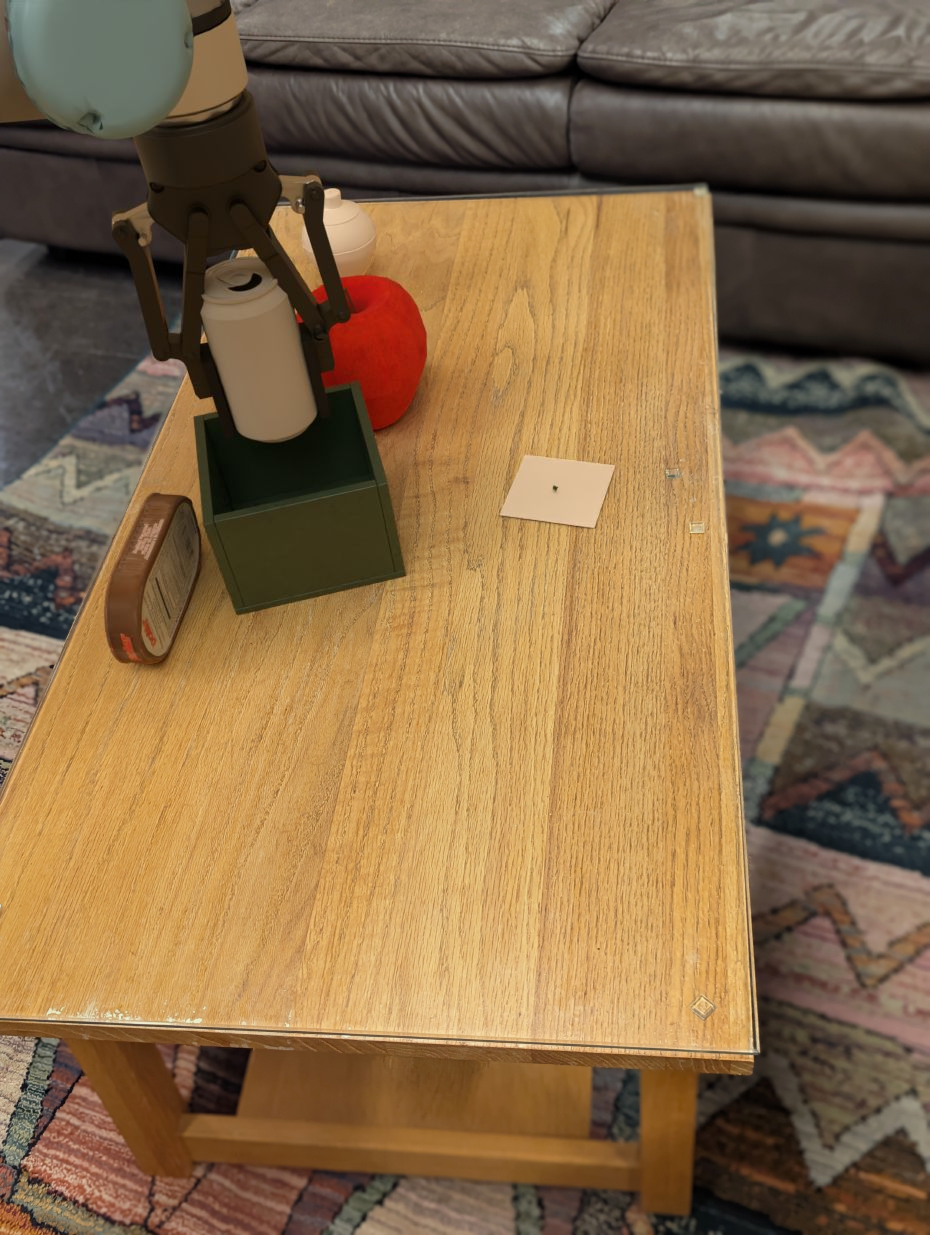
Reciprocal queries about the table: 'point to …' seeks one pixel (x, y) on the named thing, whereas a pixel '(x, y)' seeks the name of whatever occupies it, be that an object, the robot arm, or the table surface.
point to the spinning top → (346, 235)
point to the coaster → (558, 491)
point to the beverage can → (257, 351)
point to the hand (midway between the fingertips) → (276, 417)
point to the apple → (378, 345)
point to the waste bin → (298, 507)
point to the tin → (153, 579)
